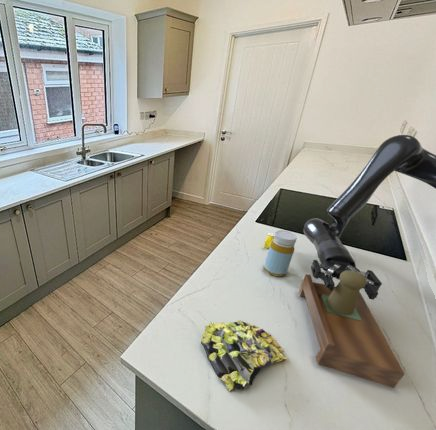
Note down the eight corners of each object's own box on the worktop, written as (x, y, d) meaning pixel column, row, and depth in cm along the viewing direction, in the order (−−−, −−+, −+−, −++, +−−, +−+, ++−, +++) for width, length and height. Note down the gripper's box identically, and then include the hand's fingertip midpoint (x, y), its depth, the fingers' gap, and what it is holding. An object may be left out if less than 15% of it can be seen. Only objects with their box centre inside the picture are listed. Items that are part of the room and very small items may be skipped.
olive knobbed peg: (352, 303, 72) (368, 271, 67) (355, 318, 68) (373, 285, 63) (325, 294, 75) (339, 264, 70) (326, 308, 71) (341, 277, 66)
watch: (268, 251, 104) (272, 238, 101) (261, 248, 106) (264, 235, 103) (274, 245, 107) (278, 232, 105) (267, 242, 109) (270, 230, 106)
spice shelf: (353, 304, 79) (363, 285, 75) (394, 387, 57) (410, 366, 54) (298, 292, 84) (305, 273, 80) (317, 364, 62) (328, 343, 59)
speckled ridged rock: (256, 322, 75) (269, 310, 70) (292, 388, 63) (310, 379, 58) (192, 325, 70) (202, 313, 66) (218, 396, 58) (231, 387, 54)
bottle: (288, 270, 93) (300, 234, 86) (282, 280, 89) (295, 242, 82) (266, 262, 98) (277, 227, 91) (260, 271, 93) (271, 235, 86)
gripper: (310, 242, 81) (323, 273, 68) (368, 251, 76) (395, 288, 62) (303, 261, 84) (314, 295, 71) (358, 272, 79) (381, 311, 66)
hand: (352, 292), depth 67 cm, fingers open, 8 cm apart
